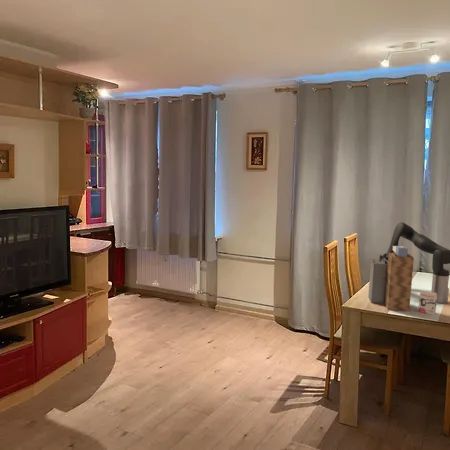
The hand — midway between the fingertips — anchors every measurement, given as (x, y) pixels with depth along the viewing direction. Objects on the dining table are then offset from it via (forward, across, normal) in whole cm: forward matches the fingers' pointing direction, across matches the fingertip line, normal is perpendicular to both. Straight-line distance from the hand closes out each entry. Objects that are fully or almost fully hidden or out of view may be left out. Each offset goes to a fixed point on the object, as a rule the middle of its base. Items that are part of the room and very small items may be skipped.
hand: (392, 255), depth 300 cm
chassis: (-4, -9, +30) cm, 31 cm away
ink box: (+12, +16, +38) cm, 43 cm away
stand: (+8, 0, +36) cm, 37 cm away
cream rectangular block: (+19, 0, +5) cm, 19 cm away
